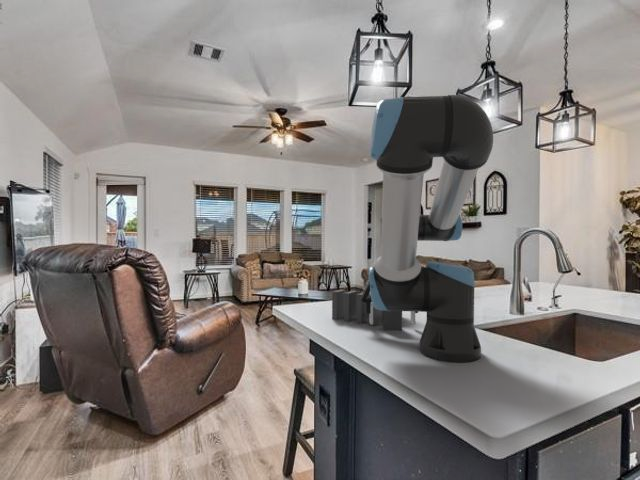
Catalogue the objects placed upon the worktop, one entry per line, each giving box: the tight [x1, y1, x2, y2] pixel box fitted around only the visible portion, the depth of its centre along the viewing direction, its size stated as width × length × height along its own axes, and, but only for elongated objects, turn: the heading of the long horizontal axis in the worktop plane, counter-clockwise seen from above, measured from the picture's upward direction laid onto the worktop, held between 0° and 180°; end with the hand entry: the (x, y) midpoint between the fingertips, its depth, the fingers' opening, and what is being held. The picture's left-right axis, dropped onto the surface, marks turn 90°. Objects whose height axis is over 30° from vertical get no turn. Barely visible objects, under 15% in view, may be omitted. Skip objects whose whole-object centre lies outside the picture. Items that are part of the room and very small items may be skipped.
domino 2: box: [343, 290, 359, 323], centre depth 131 cm, size 2×6×10 cm, turn 144°
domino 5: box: [381, 310, 403, 331], centre depth 118 cm, size 2×6×10 cm, turn 91°
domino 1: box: [331, 288, 347, 321], centre depth 134 cm, size 2×6×10 cm, turn 145°
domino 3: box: [355, 292, 370, 325], centre depth 128 cm, size 2×6×10 cm, turn 145°
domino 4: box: [368, 306, 382, 327], centre depth 125 cm, size 2×6×10 cm, turn 145°
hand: (392, 323), depth 118 cm, fingers open, 13 cm apart
